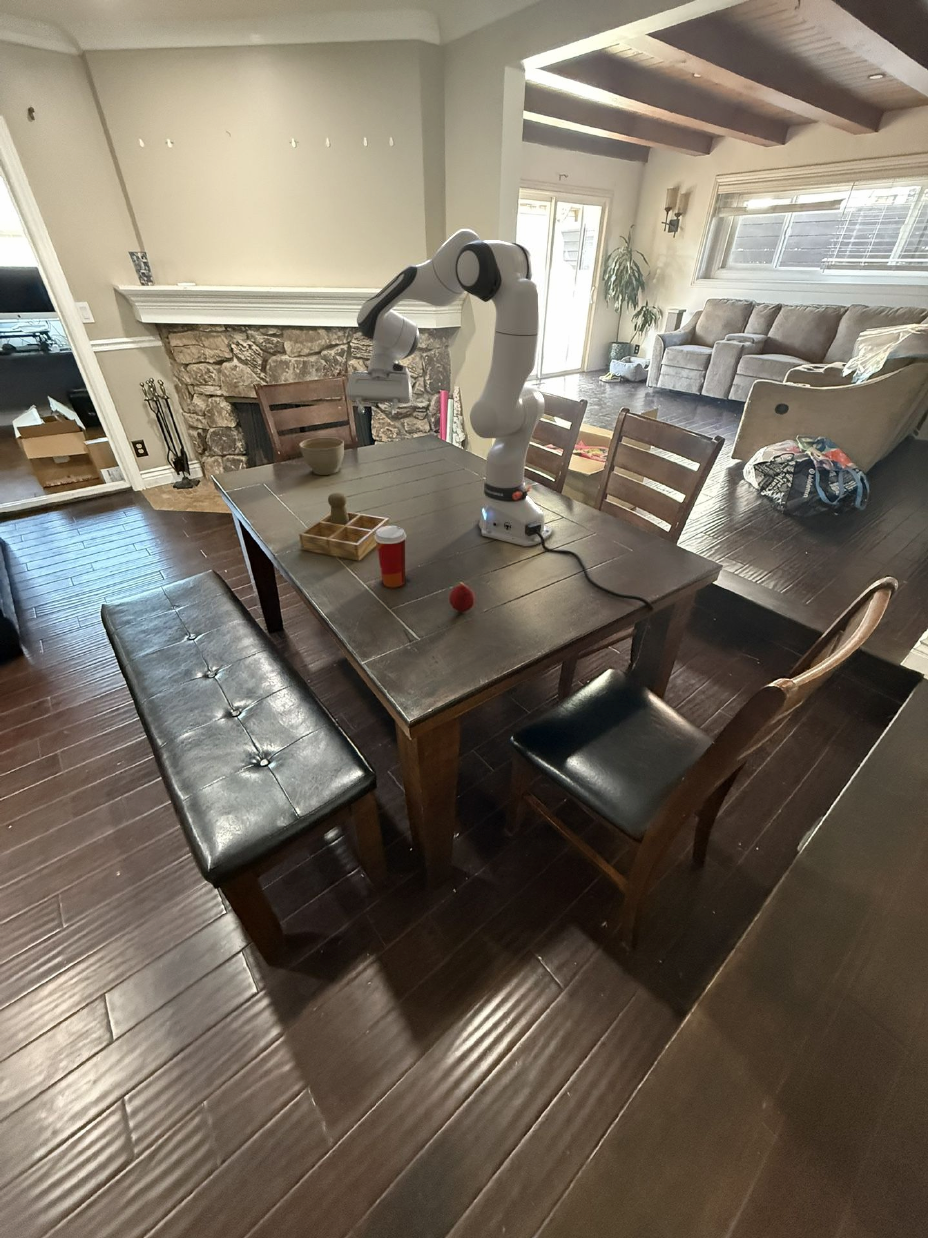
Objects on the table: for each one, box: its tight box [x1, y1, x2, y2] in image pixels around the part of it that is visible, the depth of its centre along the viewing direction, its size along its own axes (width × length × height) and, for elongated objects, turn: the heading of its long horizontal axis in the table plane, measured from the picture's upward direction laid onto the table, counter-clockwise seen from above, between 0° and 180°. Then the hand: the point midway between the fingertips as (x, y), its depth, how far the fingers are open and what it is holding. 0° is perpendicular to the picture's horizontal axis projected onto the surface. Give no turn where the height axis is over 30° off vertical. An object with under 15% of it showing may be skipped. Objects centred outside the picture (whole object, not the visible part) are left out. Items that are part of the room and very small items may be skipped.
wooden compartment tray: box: [298, 511, 390, 562], centre depth 148 cm, size 18×18×5 cm
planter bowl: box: [299, 436, 345, 476], centre depth 194 cm, size 16×16×11 cm
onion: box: [449, 581, 476, 614], centre depth 117 cm, size 6×6×8 cm
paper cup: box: [374, 525, 407, 588], centre depth 126 cm, size 8×8×14 cm
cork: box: [327, 492, 350, 525], centre depth 150 cm, size 6×6×11 cm
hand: (375, 413), depth 156 cm, fingers open, 8 cm apart
